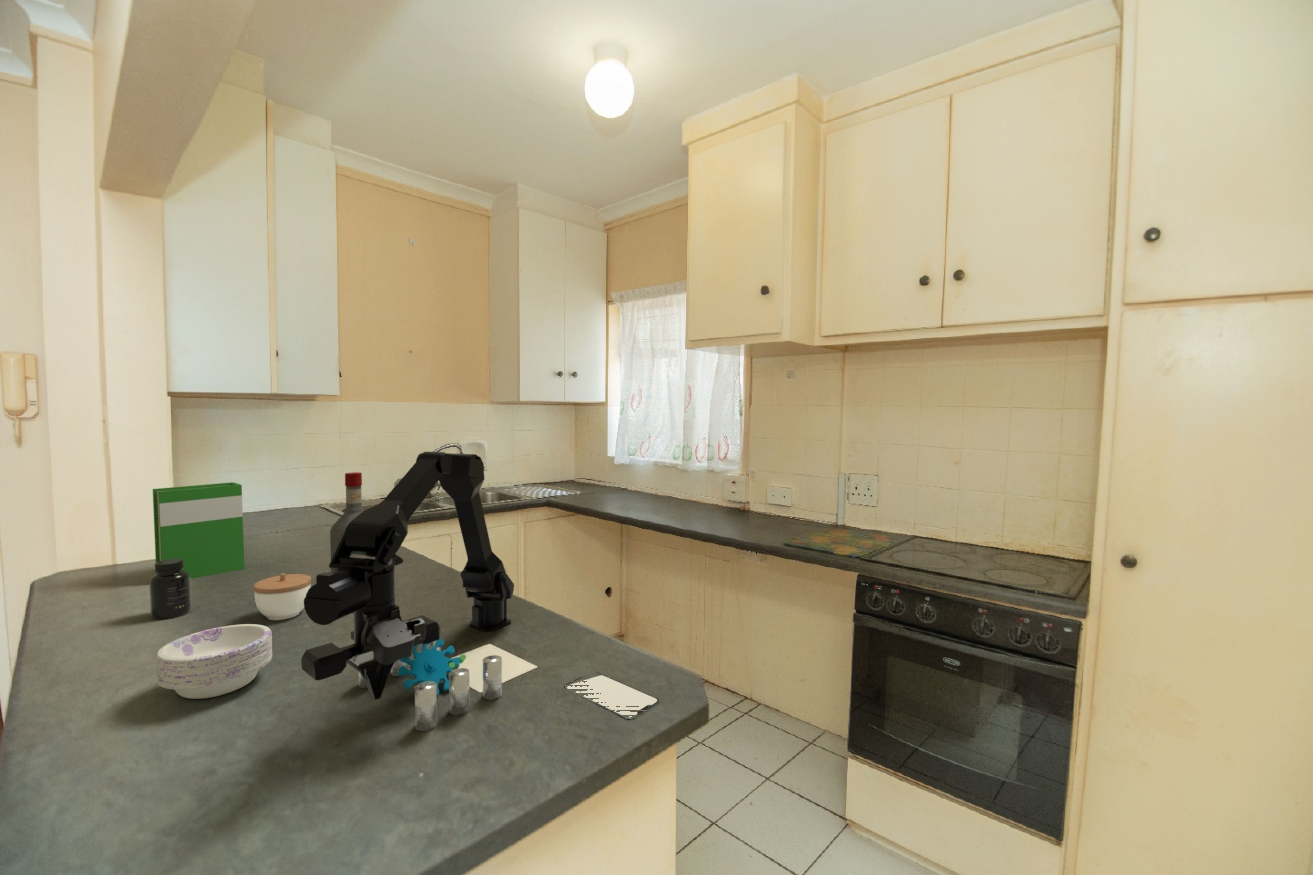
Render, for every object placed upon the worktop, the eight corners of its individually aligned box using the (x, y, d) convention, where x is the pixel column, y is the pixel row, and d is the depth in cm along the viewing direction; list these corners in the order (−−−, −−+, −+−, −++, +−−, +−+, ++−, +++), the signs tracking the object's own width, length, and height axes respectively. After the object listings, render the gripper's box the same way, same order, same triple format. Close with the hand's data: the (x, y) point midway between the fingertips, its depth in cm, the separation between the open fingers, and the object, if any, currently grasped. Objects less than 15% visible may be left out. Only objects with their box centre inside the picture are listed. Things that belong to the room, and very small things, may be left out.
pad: (489, 644, 112) (489, 643, 112) (537, 667, 102) (537, 666, 102) (432, 665, 102) (432, 664, 102) (480, 693, 93) (480, 692, 93)
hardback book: (162, 583, 145) (158, 492, 144) (156, 578, 150) (152, 489, 148) (244, 568, 159) (241, 484, 158) (236, 563, 164) (233, 482, 162)
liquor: (383, 590, 142) (381, 472, 141) (347, 600, 135) (344, 476, 133) (363, 583, 147) (361, 470, 145) (327, 593, 140) (324, 473, 138)
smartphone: (560, 689, 95) (629, 723, 85) (560, 686, 95) (629, 720, 85) (594, 672, 101) (662, 702, 91) (594, 669, 101) (662, 699, 91)
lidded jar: (265, 628, 118) (263, 584, 117) (247, 616, 124) (245, 574, 124) (320, 613, 126) (319, 572, 126) (300, 603, 133) (299, 564, 132)
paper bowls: (211, 663, 102) (209, 620, 102) (293, 665, 102) (292, 622, 101) (130, 708, 87) (128, 658, 87) (226, 711, 87) (224, 661, 86)
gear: (404, 699, 87) (396, 639, 93) (393, 715, 90) (386, 655, 96) (473, 686, 94) (462, 630, 100) (461, 701, 97) (451, 646, 103)
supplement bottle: (143, 617, 123) (141, 563, 122) (179, 606, 129) (177, 555, 129) (162, 622, 120) (160, 567, 120) (198, 611, 127) (196, 559, 126)
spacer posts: (435, 655, 106) (435, 624, 106) (505, 694, 93) (505, 658, 92) (355, 684, 95) (354, 649, 95) (421, 733, 81) (421, 693, 81)
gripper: (329, 632, 74) (332, 746, 75) (458, 595, 88) (459, 692, 89) (298, 611, 81) (301, 716, 82) (422, 581, 95) (423, 670, 96)
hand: (376, 698), depth 87 cm, fingers closed
